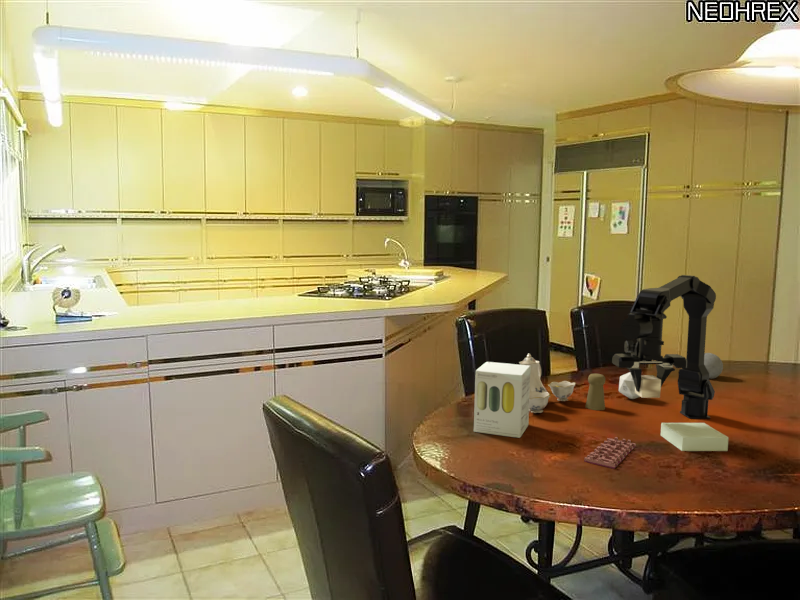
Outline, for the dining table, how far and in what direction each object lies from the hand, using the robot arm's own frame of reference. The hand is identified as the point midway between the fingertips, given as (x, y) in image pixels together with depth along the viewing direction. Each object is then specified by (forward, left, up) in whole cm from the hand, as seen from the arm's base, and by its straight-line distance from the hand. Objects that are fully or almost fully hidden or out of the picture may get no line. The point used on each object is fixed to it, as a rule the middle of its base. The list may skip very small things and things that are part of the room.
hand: (647, 391), depth 173 cm
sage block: (-9, +8, -12) cm, 17 cm away
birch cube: (0, 0, -1) cm, 1 cm away
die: (-10, -34, -12) cm, 38 cm away
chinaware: (+23, -26, -12) cm, 37 cm away
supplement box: (+40, -4, -12) cm, 41 cm away
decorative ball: (-52, -64, -12) cm, 84 cm away
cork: (+6, -24, -12) cm, 27 cm away
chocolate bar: (+16, +16, -13) cm, 25 cm away
